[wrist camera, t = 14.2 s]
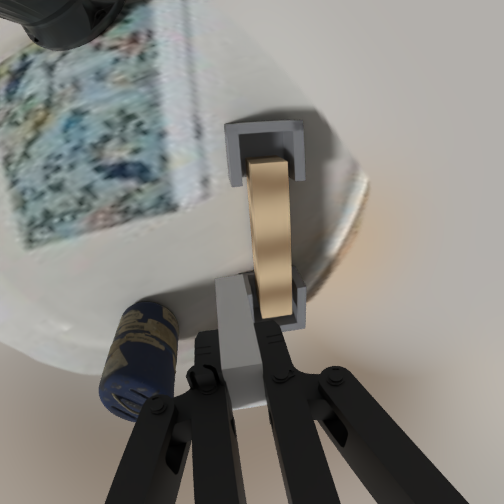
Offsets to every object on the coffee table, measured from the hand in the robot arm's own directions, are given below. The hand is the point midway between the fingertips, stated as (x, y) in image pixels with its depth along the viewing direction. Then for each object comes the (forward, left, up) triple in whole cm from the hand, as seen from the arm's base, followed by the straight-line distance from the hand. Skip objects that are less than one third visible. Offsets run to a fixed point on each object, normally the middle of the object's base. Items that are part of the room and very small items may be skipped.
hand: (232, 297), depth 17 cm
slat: (+6, +6, -25) cm, 26 cm away
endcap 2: (+16, +6, -25) cm, 30 cm away
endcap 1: (-5, +6, -25) cm, 27 cm away
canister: (+19, -13, -26) cm, 35 cm away
